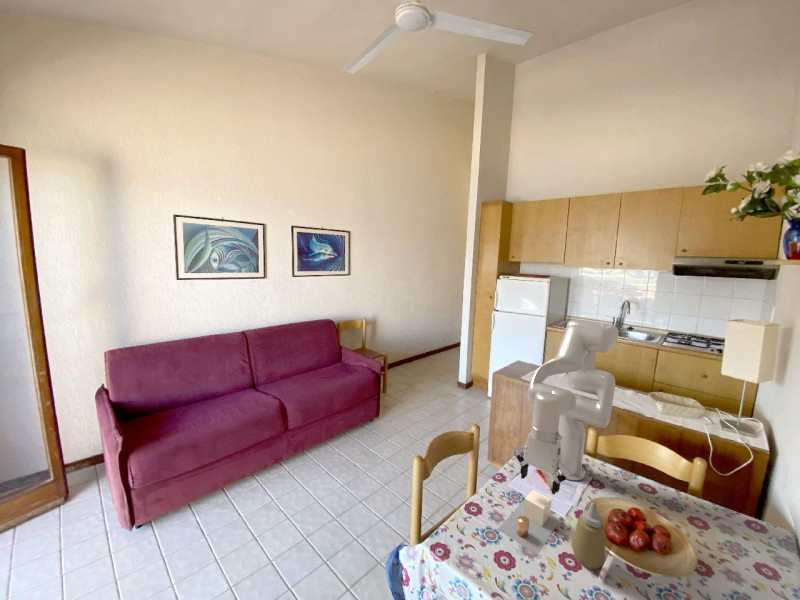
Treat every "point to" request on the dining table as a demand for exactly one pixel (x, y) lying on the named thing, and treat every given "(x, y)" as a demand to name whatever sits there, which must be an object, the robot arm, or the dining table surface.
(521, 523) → the post
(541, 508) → the cream foam brick
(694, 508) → the dining table surface
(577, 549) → the squeeze bottle
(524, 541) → the plate
